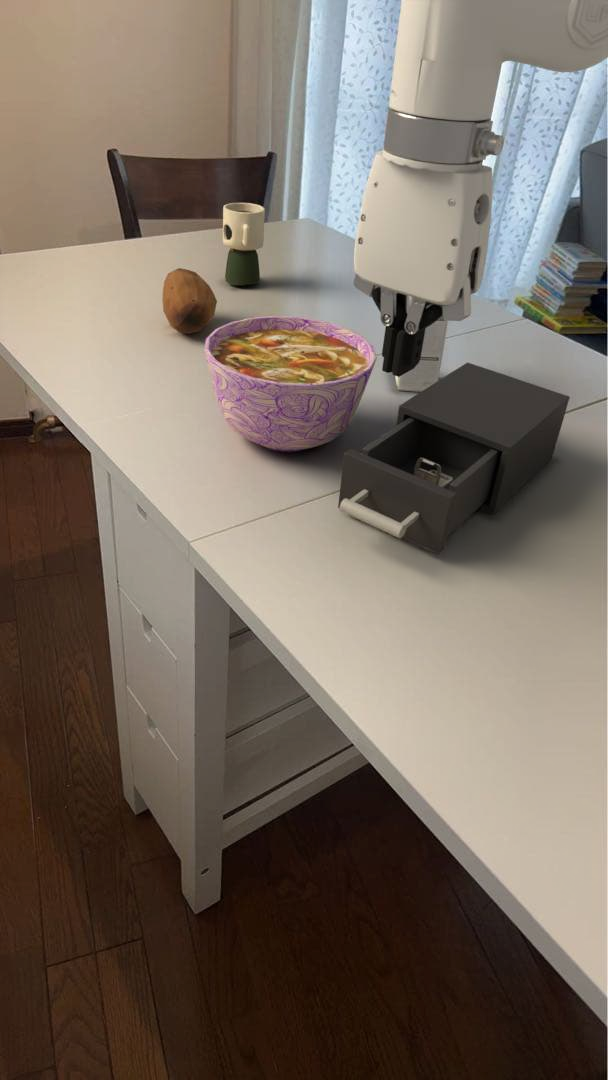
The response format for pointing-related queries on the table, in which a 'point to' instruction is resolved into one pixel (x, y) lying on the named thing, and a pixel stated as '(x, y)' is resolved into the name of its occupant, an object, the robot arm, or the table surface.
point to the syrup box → (426, 360)
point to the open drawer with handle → (417, 482)
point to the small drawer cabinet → (495, 421)
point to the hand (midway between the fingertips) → (399, 369)
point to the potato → (187, 301)
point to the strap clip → (432, 474)
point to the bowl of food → (288, 379)
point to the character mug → (243, 241)
